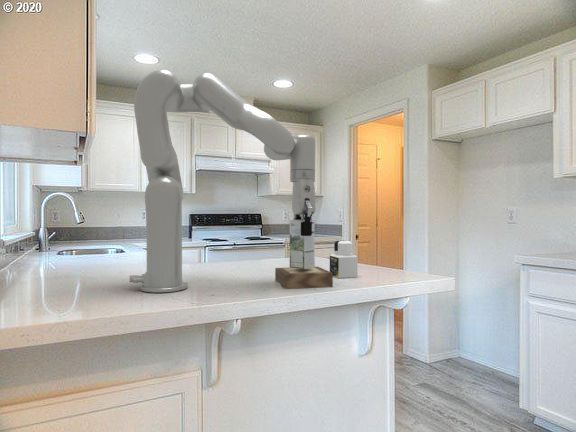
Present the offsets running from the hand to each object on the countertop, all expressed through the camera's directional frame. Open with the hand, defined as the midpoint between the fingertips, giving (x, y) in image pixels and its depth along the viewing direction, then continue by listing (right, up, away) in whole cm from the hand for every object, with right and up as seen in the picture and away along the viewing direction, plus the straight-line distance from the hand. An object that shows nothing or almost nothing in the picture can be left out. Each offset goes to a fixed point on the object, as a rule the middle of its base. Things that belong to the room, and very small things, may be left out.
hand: (302, 234), depth 118 cm
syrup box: (0, -10, 0) cm, 10 cm away
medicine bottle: (+14, -15, +14) cm, 25 cm away
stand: (0, -15, 0) cm, 15 cm away
